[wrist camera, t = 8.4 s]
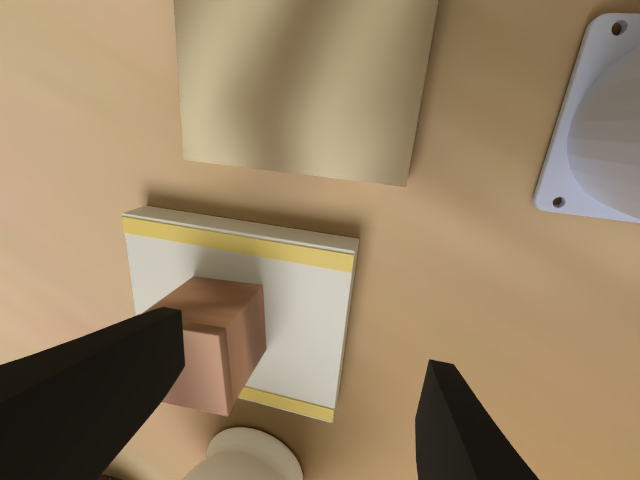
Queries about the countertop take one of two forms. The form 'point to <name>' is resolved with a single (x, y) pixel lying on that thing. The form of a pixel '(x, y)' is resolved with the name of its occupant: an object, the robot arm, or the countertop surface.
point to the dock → (278, 288)
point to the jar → (246, 458)
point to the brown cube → (216, 341)
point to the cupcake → (107, 478)
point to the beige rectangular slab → (304, 84)
